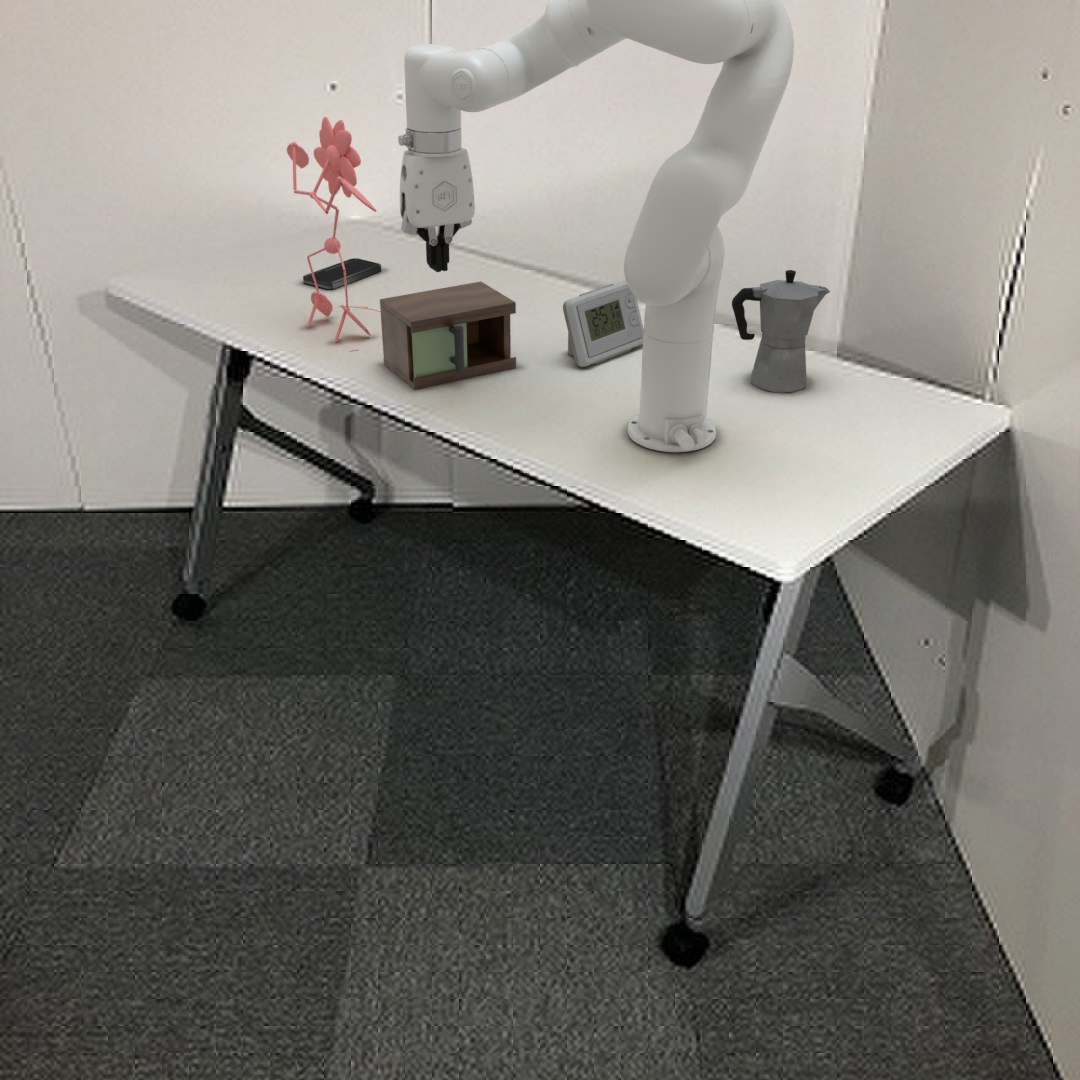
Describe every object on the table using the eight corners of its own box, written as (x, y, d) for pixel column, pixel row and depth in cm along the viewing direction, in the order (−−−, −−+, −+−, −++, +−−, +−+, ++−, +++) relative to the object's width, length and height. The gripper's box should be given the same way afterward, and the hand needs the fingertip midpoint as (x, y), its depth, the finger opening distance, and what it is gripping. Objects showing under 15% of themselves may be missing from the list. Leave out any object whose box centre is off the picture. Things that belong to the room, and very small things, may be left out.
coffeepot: (806, 367, 194) (820, 258, 185) (829, 390, 186) (844, 277, 177) (715, 374, 191) (724, 263, 182) (734, 397, 183) (745, 283, 174)
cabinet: (516, 367, 193) (515, 302, 188) (414, 389, 185) (411, 321, 180) (482, 344, 202) (480, 281, 196) (383, 364, 194) (379, 299, 189)
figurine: (357, 358, 196) (340, 138, 179) (279, 316, 213) (257, 111, 196) (434, 337, 205) (425, 125, 187) (353, 298, 222) (338, 100, 204)
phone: (383, 264, 235) (329, 284, 225) (383, 270, 236) (330, 290, 225) (353, 257, 239) (299, 276, 229) (354, 262, 240) (300, 282, 229)
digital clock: (578, 372, 192) (579, 308, 186) (547, 354, 198) (547, 292, 193) (658, 351, 200) (661, 289, 194) (625, 335, 206) (627, 275, 201)
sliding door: (477, 375, 187) (475, 324, 183) (424, 387, 183) (422, 334, 179) (465, 367, 190) (464, 316, 186) (413, 378, 186) (411, 326, 182)
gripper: (395, 151, 161) (401, 284, 170) (494, 141, 167) (495, 269, 177) (374, 140, 167) (381, 269, 176) (470, 130, 173) (472, 255, 182)
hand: (438, 268), depth 176 cm, fingers closed
